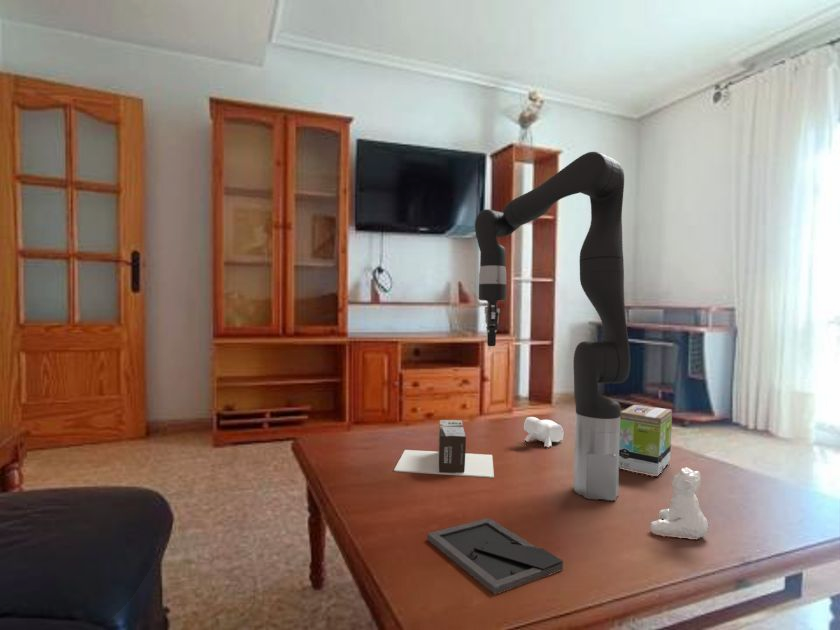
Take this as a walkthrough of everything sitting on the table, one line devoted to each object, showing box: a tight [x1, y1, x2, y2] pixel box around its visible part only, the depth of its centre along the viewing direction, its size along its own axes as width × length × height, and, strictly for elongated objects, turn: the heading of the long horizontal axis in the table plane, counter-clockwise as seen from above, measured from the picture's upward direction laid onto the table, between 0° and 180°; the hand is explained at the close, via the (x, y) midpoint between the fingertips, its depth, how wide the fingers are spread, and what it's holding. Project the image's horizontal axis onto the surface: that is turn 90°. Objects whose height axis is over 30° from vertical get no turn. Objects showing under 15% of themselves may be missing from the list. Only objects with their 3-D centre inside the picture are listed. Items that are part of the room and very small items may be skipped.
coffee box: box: [437, 419, 467, 473], centre depth 122 cm, size 9×6×16 cm
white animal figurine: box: [523, 416, 565, 447], centre depth 142 cm, size 9×8×15 cm
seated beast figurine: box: [650, 466, 709, 539], centre depth 86 cm, size 10×9×12 cm
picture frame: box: [426, 517, 564, 595], centre depth 77 cm, size 13×2×18 cm
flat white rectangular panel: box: [393, 449, 495, 479], centre depth 122 cm, size 17×24×1 cm
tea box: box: [619, 404, 673, 476], centre depth 123 cm, size 15×10×15 cm
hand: (491, 345), depth 131 cm, fingers closed
